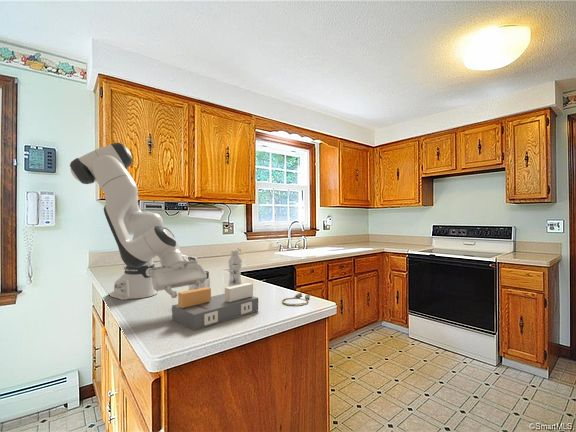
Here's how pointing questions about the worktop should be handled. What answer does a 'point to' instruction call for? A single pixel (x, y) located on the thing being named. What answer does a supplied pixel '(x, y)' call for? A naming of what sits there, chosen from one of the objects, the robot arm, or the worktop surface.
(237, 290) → the white switch
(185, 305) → the orange switch
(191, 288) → the jar
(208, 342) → the worktop surface
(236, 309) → the switch box
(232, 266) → the plastic bottle
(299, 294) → the extension cord
